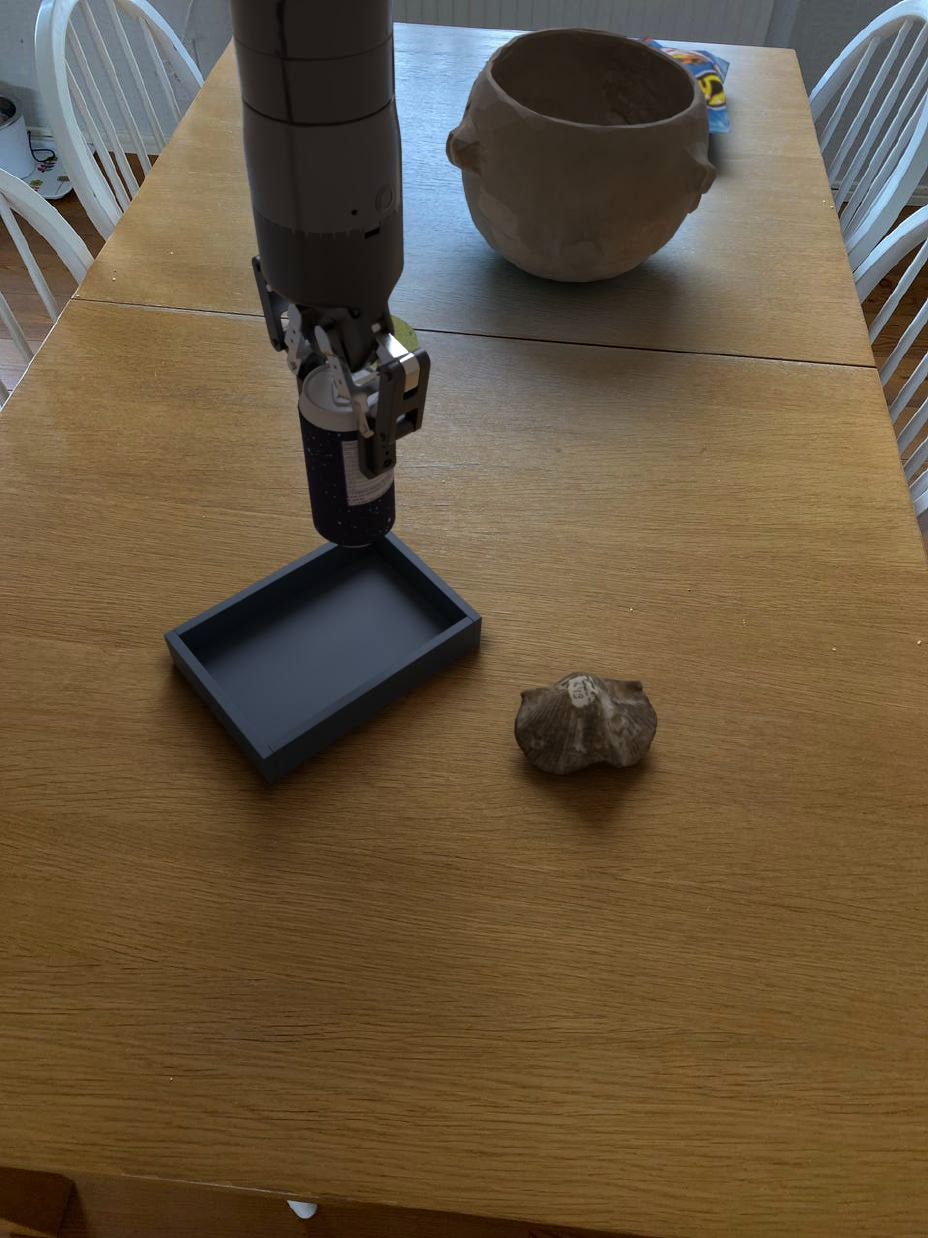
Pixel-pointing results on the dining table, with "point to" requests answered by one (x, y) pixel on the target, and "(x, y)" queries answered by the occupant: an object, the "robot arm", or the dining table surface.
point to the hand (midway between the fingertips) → (347, 443)
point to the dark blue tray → (322, 647)
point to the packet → (705, 81)
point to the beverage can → (341, 466)
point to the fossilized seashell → (585, 723)
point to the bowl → (581, 152)
